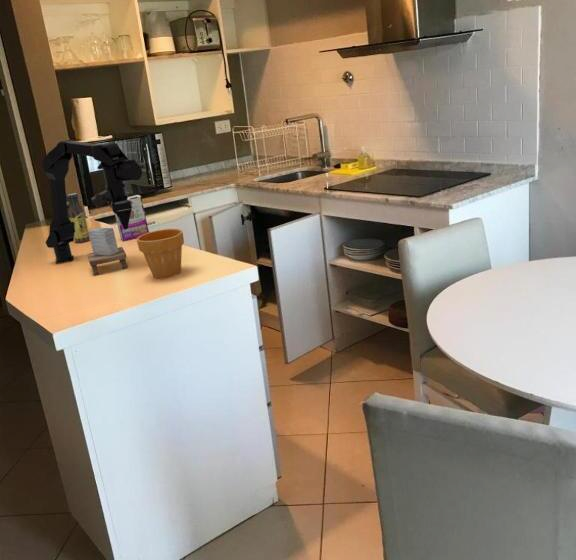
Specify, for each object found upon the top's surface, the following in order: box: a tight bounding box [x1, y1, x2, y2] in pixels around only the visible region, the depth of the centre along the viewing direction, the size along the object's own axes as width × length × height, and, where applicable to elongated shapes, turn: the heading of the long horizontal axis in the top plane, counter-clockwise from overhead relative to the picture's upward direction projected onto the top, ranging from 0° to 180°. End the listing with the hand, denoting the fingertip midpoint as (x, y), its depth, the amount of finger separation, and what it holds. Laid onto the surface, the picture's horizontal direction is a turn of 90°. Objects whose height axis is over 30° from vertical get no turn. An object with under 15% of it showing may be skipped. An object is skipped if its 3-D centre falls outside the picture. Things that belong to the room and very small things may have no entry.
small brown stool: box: [86, 246, 128, 276], centre depth 214 cm, size 12×12×5 cm
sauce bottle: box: [67, 193, 90, 244], centre depth 258 cm, size 6×6×20 cm
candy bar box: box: [114, 194, 150, 242], centre depth 253 cm, size 11×5×16 cm, turn 118°
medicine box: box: [88, 227, 119, 256], centre depth 212 cm, size 8×4×9 cm, turn 59°
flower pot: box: [136, 228, 185, 279], centre depth 197 cm, size 14×14×13 cm
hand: (124, 226), depth 214 cm, fingers open, 9 cm apart
